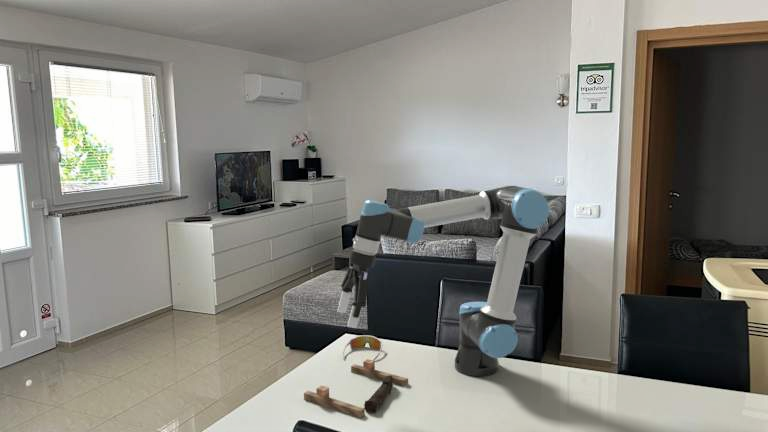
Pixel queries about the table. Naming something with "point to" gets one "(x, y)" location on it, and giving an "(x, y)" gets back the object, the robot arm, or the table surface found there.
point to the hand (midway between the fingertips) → (346, 319)
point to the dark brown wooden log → (379, 395)
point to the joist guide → (325, 400)
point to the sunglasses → (361, 342)
